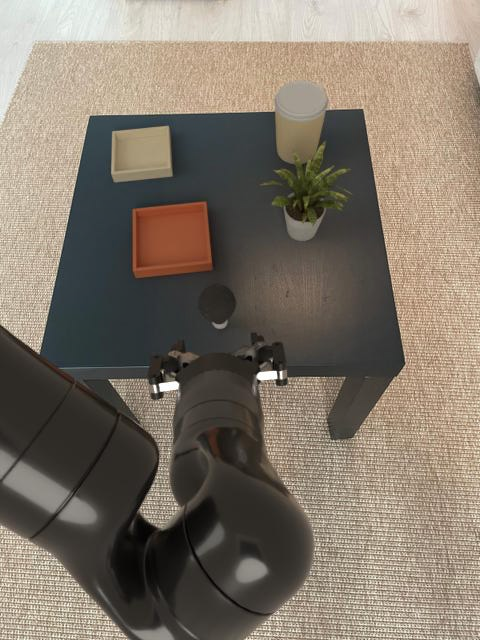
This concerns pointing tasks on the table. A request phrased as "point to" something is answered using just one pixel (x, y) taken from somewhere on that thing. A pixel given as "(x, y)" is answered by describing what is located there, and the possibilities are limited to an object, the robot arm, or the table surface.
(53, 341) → the table surface
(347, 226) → the table surface
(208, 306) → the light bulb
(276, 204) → the house plant
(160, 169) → the cream tray
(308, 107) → the coffee cup
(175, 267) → the terracotta tray
